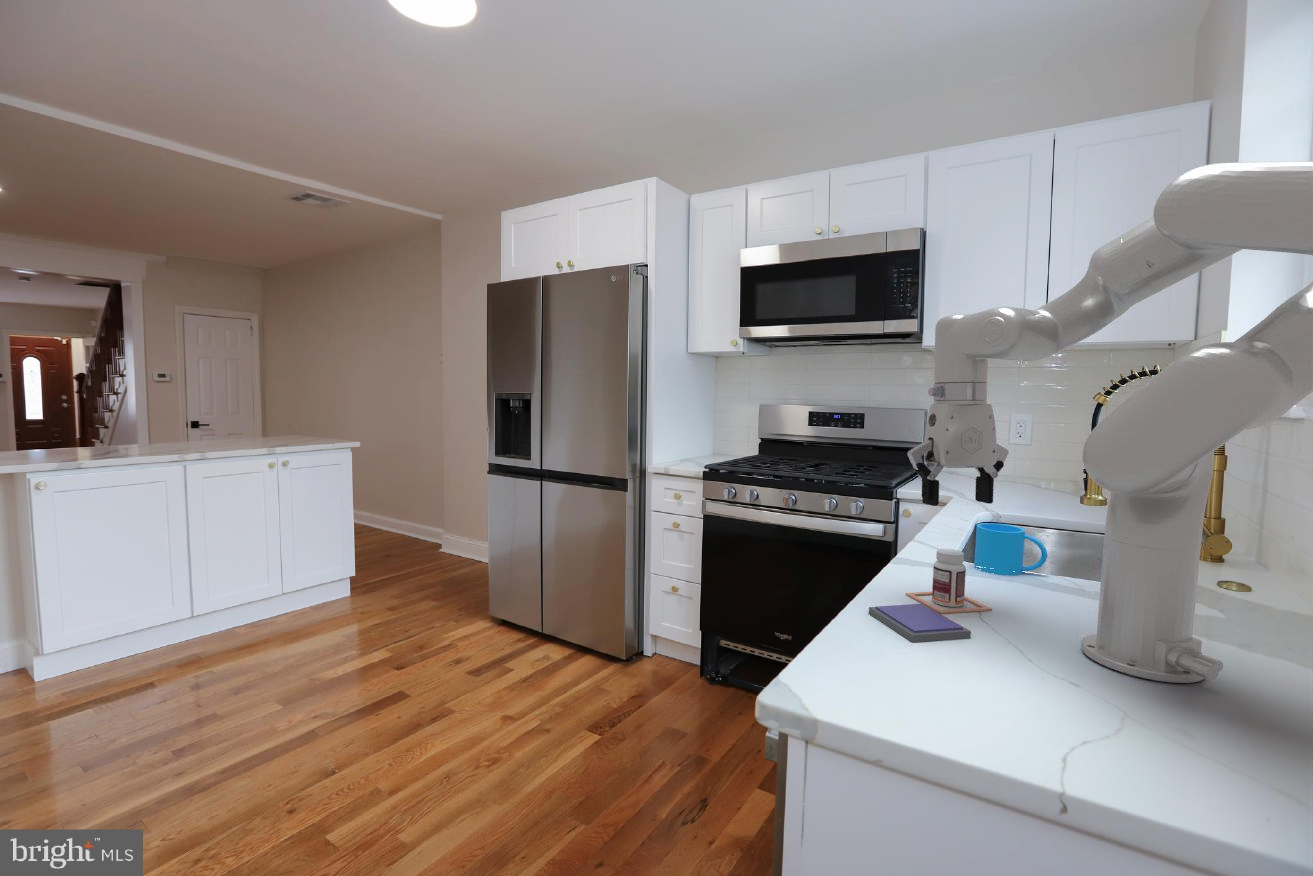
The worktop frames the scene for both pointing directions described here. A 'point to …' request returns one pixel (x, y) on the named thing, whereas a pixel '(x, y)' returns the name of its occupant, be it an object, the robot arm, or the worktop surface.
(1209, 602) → the worktop surface
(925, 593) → the open rectangular frame
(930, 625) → the ink pad
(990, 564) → the mug
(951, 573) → the pill bottle
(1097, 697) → the worktop surface
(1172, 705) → the worktop surface
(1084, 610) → the worktop surface
